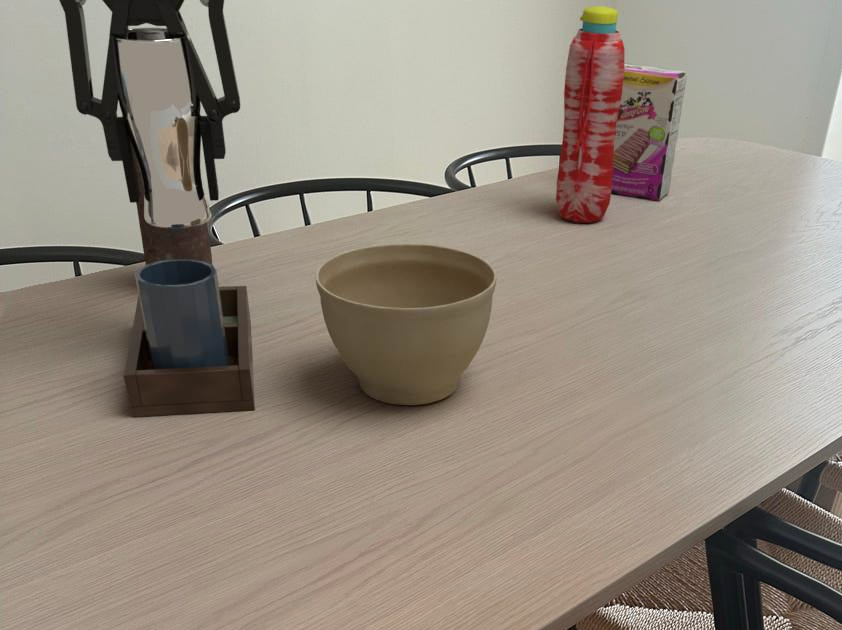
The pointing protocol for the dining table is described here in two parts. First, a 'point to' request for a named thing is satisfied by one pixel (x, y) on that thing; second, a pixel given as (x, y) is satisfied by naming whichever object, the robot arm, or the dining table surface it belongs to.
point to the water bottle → (590, 117)
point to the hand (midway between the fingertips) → (175, 196)
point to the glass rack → (195, 369)
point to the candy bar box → (647, 131)
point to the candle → (171, 237)
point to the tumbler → (182, 314)
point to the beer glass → (162, 124)
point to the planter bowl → (406, 316)
